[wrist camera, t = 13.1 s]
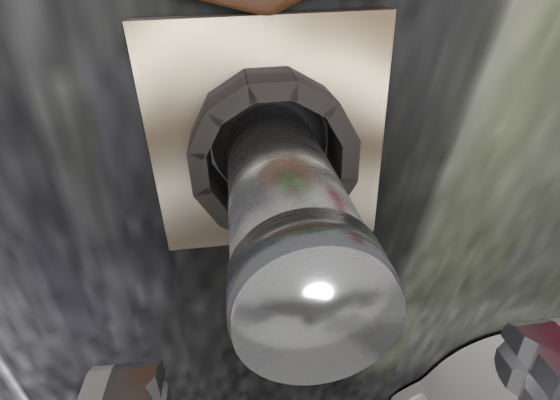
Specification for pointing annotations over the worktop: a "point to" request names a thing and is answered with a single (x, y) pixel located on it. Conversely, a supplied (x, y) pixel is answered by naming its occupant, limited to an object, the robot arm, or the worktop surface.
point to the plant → (256, 5)
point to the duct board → (257, 101)
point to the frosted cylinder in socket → (301, 259)
